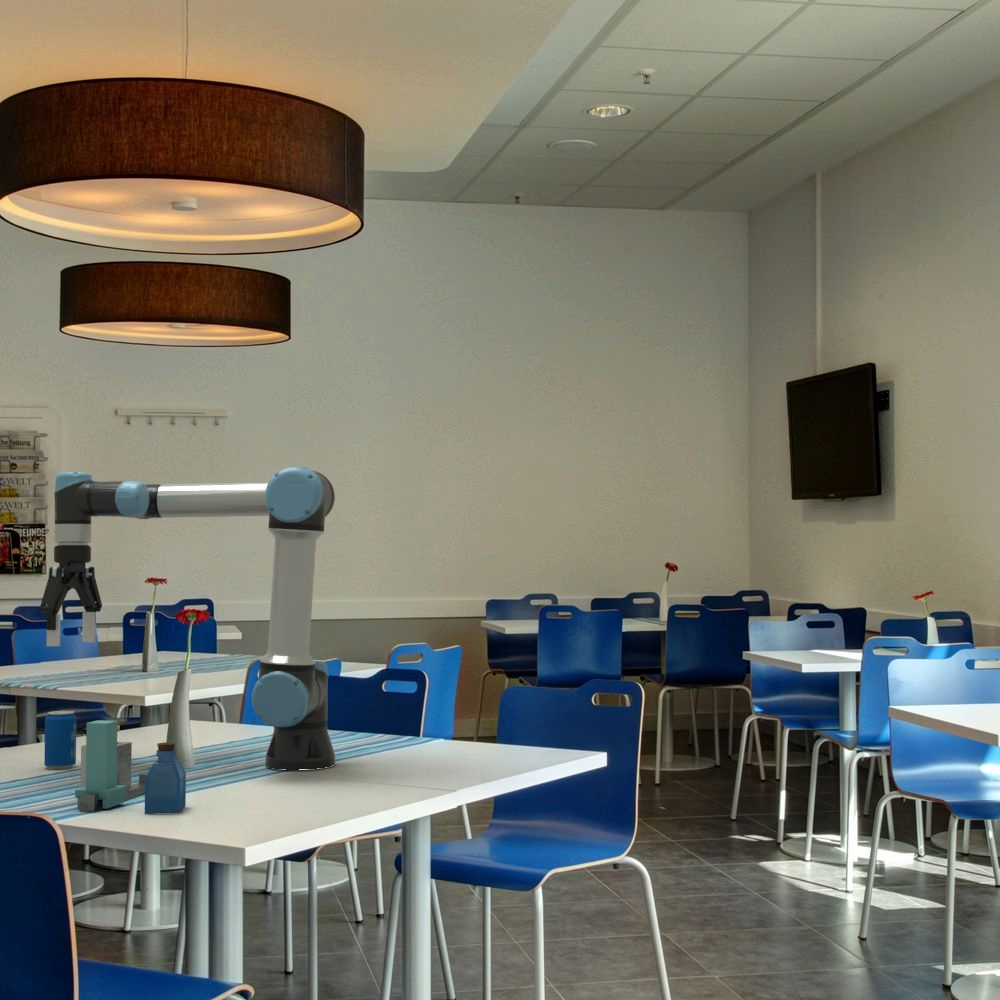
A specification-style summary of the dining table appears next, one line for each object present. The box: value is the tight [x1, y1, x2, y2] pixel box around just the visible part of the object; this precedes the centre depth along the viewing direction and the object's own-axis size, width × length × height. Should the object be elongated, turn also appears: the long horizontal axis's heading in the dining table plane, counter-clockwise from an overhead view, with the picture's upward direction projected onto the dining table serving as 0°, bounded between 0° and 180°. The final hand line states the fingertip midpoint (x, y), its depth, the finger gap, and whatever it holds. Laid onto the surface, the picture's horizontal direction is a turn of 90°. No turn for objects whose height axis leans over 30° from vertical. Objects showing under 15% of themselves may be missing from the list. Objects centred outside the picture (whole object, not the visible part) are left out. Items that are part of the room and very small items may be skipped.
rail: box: [78, 772, 148, 813], centre depth 246 cm, size 3×24×3 cm, turn 168°
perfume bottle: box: [144, 742, 187, 815], centre depth 236 cm, size 6×6×12 cm
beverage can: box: [43, 710, 77, 771], centre depth 283 cm, size 6×6×12 cm
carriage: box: [74, 719, 127, 809], centre depth 239 cm, size 7×6×15 cm
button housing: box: [80, 741, 133, 788], centre depth 256 cm, size 7×7×9 cm
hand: (71, 644), depth 277 cm, fingers open, 13 cm apart
